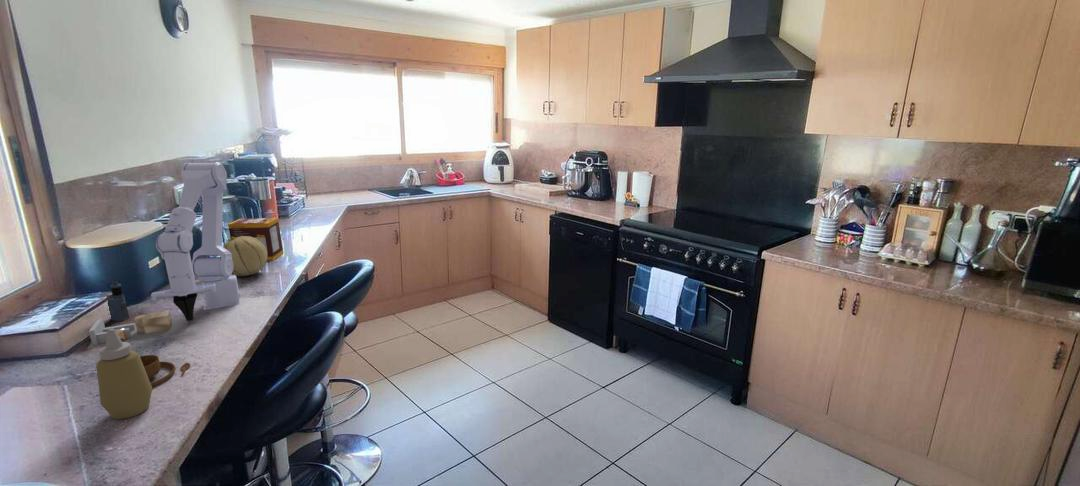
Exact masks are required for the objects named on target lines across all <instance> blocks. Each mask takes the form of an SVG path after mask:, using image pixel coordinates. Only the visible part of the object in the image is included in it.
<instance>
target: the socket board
mask: <svg viewBox="0 0 1080 486" xmlns="http://www.w3.org/2000/svg"><path fill="white" fill-rule="evenodd" d="M171 319H172V323H173V324H172V326H171V329H168V330H162V331H156V332H150V333H144V334H139V333H138V332H137V328H136V324H135V322H133V323H127V324H126V323H125V324H120V325H115V326H107V327H106V326H105V321H104V318H98V319H97V320H96V321H95V322H94V324H93V325H91V328H90V329H89V330H88V333H89V336H90V337H89V338H90V340H91V342H90V344H89V345H88V347H87V348H86V350H91V349H95V348H103V347H105V346H106V333H107V330H109V329H115V330H116V329H118V328H125V333H126V340H125V342H128V343H131V342H135V341H141V340H146V339H148V340H149V339H152V338H158V337H163V336H169V335H174V334H175V335H176V334H182V333H185V332H186V330H187V327H188V324H189V322H190V321H187V320H186V318H185V316H182V317H175V318H171Z"/></svg>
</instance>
